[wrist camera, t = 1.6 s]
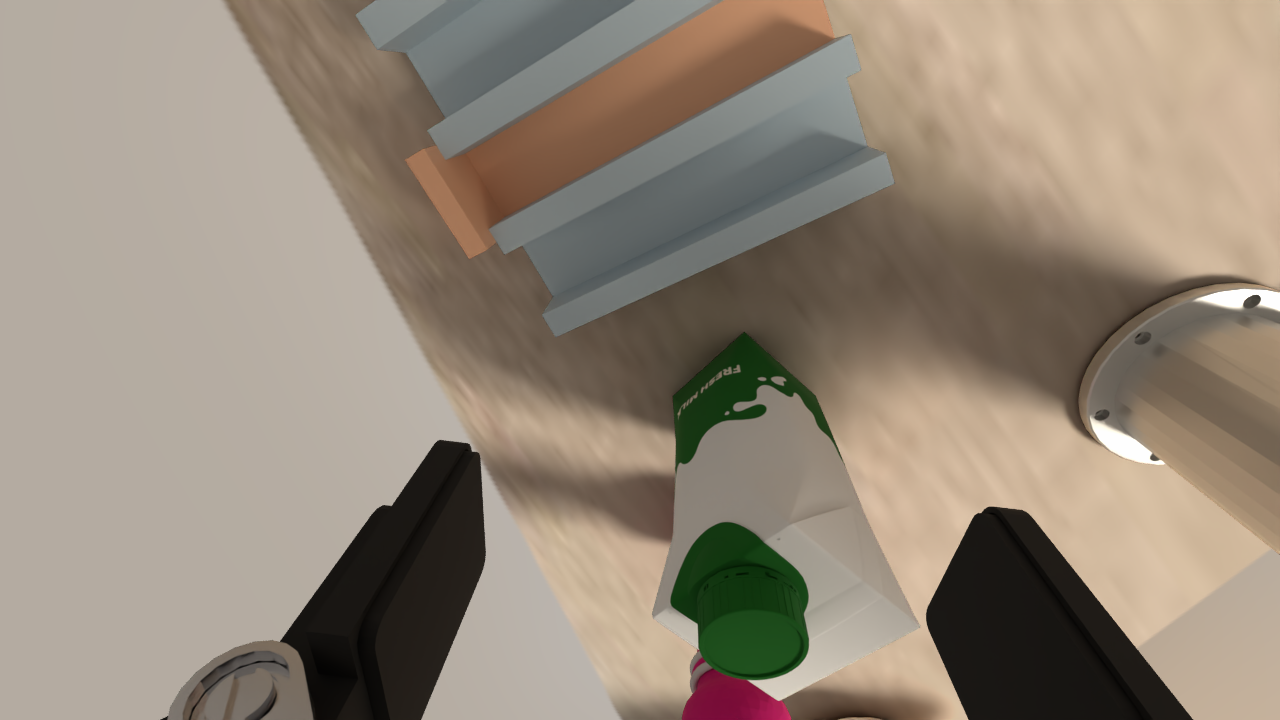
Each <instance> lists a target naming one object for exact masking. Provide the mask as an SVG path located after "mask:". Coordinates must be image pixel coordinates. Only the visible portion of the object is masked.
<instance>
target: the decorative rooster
mask: <svg viewBox="0 0 1280 720" xmlns="http://www.w3.org/2000/svg"><path fill="white" fill-rule="evenodd" d="M839 720H882V719H878V718H872V717H863V718H857V717H851V718H843V719H839Z"/></svg>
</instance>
